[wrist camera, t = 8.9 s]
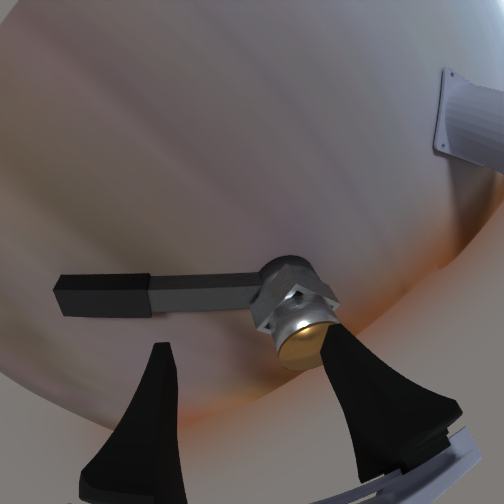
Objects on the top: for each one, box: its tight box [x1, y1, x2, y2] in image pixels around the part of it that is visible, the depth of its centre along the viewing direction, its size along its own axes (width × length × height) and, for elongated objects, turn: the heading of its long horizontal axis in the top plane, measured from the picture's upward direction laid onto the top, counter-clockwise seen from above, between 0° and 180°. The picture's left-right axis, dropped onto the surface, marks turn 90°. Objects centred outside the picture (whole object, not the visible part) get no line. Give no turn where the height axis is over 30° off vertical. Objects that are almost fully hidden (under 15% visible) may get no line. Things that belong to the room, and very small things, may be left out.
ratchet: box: [53, 255, 321, 318], centre depth 20 cm, size 22×5×4 cm, turn 86°
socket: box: [250, 264, 341, 371], centre depth 19 cm, size 5×5×6 cm
